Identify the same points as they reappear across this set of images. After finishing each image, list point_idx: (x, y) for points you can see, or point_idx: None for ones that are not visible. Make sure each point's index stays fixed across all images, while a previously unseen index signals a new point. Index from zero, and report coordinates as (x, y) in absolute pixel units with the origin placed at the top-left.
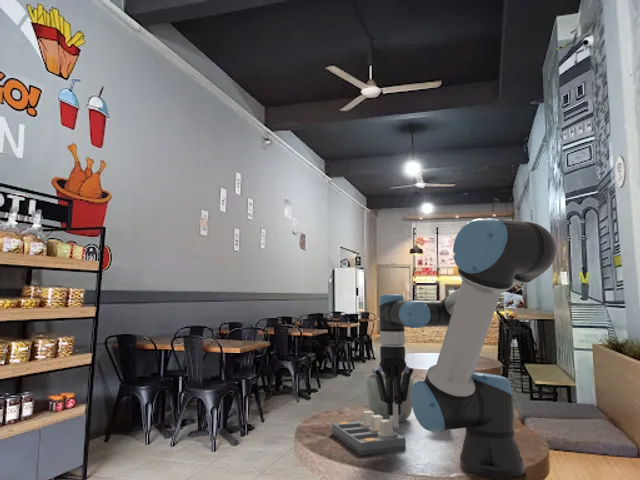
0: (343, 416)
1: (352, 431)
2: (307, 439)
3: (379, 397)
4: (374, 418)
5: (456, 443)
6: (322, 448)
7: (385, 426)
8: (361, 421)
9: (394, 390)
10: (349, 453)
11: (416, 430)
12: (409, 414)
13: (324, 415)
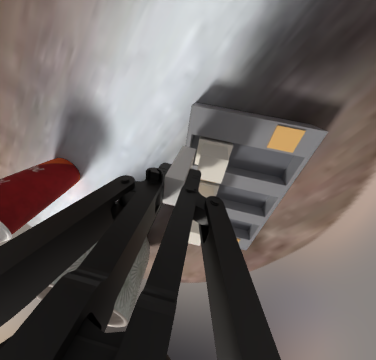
0: None
1: (246, 210)
2: (298, 237)
3: (133, 267)
4: None
5: (67, 78)
6: (326, 197)
7: (224, 154)
8: None
9: (144, 234)
10: (317, 148)
11: None
12: None
13: (194, 277)
